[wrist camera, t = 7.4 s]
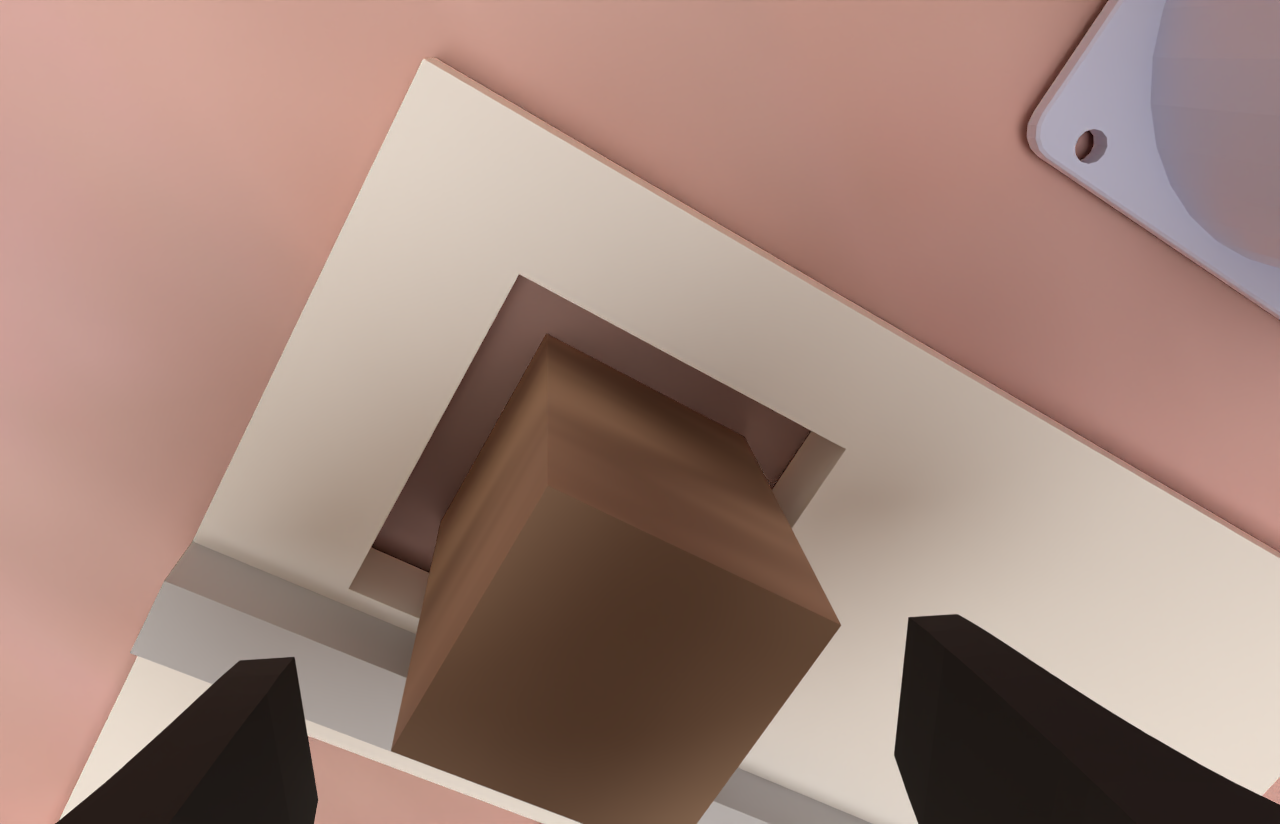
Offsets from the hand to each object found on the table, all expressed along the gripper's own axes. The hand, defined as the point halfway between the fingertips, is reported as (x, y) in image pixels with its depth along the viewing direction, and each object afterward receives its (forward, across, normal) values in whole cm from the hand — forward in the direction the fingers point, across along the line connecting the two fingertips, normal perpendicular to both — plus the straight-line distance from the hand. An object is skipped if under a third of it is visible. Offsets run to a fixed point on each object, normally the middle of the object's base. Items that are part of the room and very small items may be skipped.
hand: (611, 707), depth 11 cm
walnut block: (+6, 0, 0) cm, 6 cm away
